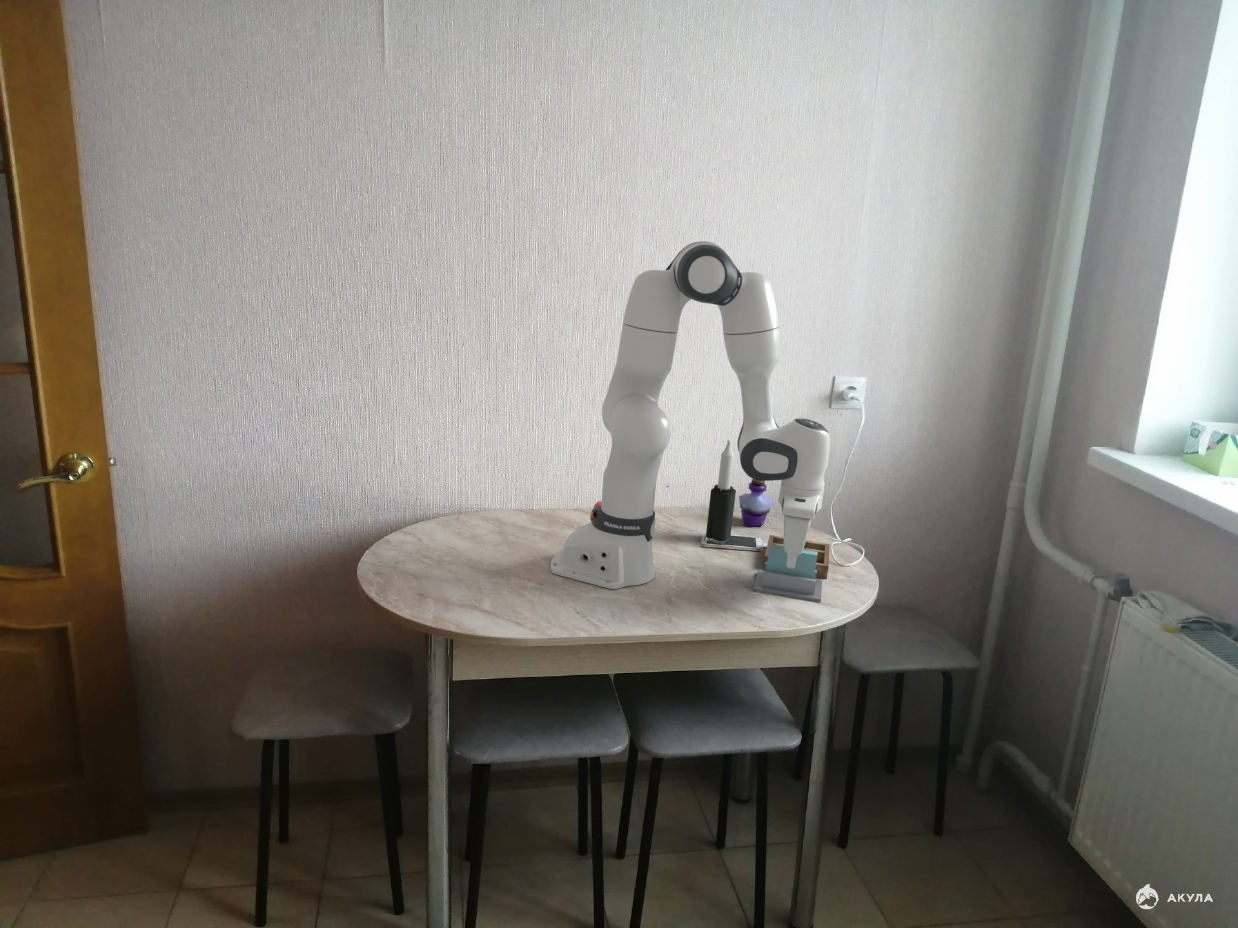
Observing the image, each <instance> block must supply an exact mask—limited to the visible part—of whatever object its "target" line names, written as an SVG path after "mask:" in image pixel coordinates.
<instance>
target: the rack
mask: <svg viewBox="0 0 1238 928" xmlns="http://www.w3.org/2000/svg"><path fill="white" fill-rule="evenodd" d="M830 544H831V543H830ZM830 544H829V543H824V542H817V541H811V540H806V542H805V545H804V549H803V550H808V551H815V552H818V553H817V561H816V568H815V570H816V571H817V574H816V578H818V579H824V580H825V579H828V573H829V565H830ZM770 545H777V546H783V547H784V536H781V535H780V536H779V535H772V534H769V537H768V541H767V546H766V550H765V554H764V560H763V568H762V569H763V570H764V569H765V562H767V561H768V554H769V547H770Z"/></svg>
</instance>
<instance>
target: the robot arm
mask: <svg viewBox="0 0 1238 928" xmlns="http://www.w3.org/2000/svg"><path fill="white" fill-rule="evenodd" d="M691 300H692V301H694V302H697V303H703V304H709V305H716V306H717V307H718V309H719V312H720V316H721V321H722V322H721V323H722V334H723V341H724V347H725V351H726V355H727V358H728V362H729V365H730V367H731V369H732V370H733V371H734V373H735V375H736V376H737V379H738V381H739V386H740V392H741V395H740V396H741V403H742V415H743V421H742V422H743V423H742V424H741V427H740V430H739V433H738V437H737V451H738V452H739V461H740V462H739V463H740V465H741V469H742V470H743V472H744V473H745V474H746V476H748V477H749V478H751V479H755V480H759V481H765V482H771V481H773V482H774V481H781V482H780V488H779V489H780V490H779V496H778V503H779V504H780V507H781V514H782V516H783V518H784V519H783V537H784V552H786V553H787V565H786V566H787V567H788V568H795V565H796V560H797V556H798V555H801V554H802V552H803V549H804V545H805V542H806V541H807V538H808V534H809V530H810V528H811V527H810V526H811V523H812V520H814V519H815V517H816V514H817V513H818V512H819V510H820V509H821V510H822V505H823V497H824V494H825V485H826V483H825V474H826V471H827V469H828V466H829V460H830V451H831V436H830V432H829V431H828V430H827V428H826V427H825V425H823V424H820V423H819V422H817V421H814V420H812V419H809V418H795V419H793V420H792V421H791V422H788V423H786V424H784V425H782V426H780V427H779V425H778V423H777V422H776V420H775V417H774V411H773V410H774V409H773V400H772V399H773V397H772V386H771V384H772V383H771V382H772V374H773V371H774V368H775V367H776V365H777V364H778V361H779V357H780V346H781V345H780V344H781V337H780V336H781V333H780V332H781V331H780V330H781V329H780V320H779V314H778V307H777V304H776V297H775V293H774V290H773V287H772V284H771V282H770V279H768V278H767V277H766V276H765V275H764V274H761V273H758V272H754V271H753V272H752V271H745V272H741V271H740V270H739V269H738V267H737V266H736V264H735V263H734V262H733V260H732V258H731V257H730V256H729V254H728V253H726V251H725V250H724V249H723V248H722V247H721V246H720V245H718V244H716V243H714V242H711V241H696V242H691V243H689V244H687V245H686V246H685V247H683V248H682V249H681V250H680V251H679V252H678V253H677V254H676V256H675V257H674V259H673V260H672V261H671V262H670V264H669V265H668V266H667V267H666V269H665V270H660V269H650V270H646V271H643V272H641V273H639V274H638V275H637V276H636V277H635V279H634V281H633V284H632V286H631V289H630V292H629V296H628V299H627V302H626V306H625V310H624V313H623V314H624V316H623V320H622V326H621V327H622V328H621V332H620V333H621V334H620V340H619V345H618V351H617V358H616V362H615V367H614V370H613V372H612V376H611V378H610V382H609V385H608V388H607V391H606V396H605V397H604V400H603V401H602V408H601V417H602V422H603V425H604V427H605V428H606V430H607V431H608V432H609V434H610V437H611V447H610V453H609V456H608V461H607V464H606V465H607V466H606V468H605V469H604V471H603V478H602V479H603V480H602V489H601V490H602V491H601V501H600V500H598V501H597V502H596V503H595V504H594V505H593V508H592V510H591V513H590V516H589V520H590V522H589V523H587V524H585V525H583V526H582V527H579V528H577V529H576V530H574V531H573V532H572V533H570V534H569V535H568V537H566V540H565V542H564V544H563V547H562V550H560V551H559V552H557V553H556V554H555V555H554V556H553V557H552V559H551V561H550V565H549V570H550V572H551V573H552V574H554V575H557V576H560V577H565V578H568V579H573V580H576V581H580V582H583V583H588V584H591V585H593V586H594V585H595V586H599V587H601V588H606V589H610V590H618V589H621V588H624V587H628V586H629V587H630V586H639V585H642V584H643V585H644V584H647V583H649V582H650V581H652V580H653V579H654V578H655V576H656V571H655V566H654V557H653V546H652V545H653V539H654V538H653V537H654V535H655V527H656V526H655V525H656V519H655V518H656V512H655V510H654V508H655V507H654V506H655V497H656V489H657V488H656V486H657V478H658V474H659V471H660V467H661V463H662V460H663V456H664V453H665V450H666V448H667V447H668V446H669V443H670V440H671V435H672V434H671V433H672V432H671V427H670V423H669V419H668V417H667V415H666V413H665V411H663V409H661V407H659V398H660V394H661V390H663V389H662V388H663V387H664V383H665V380H666V378H667V377H668V375H669V374H670V373H671V370H672V367H673V360H674V355H675V351H676V350H675V349H676V344H677V338H678V332H679V325H680V320H681V316H682V312H683V310H684V307H685V306H686V305H687V303H689V302H690V301H691Z"/></svg>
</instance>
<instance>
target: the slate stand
mask: <svg viewBox="0 0 1238 928" xmlns="http://www.w3.org/2000/svg"><path fill="white" fill-rule="evenodd" d="M766 569H767V562H765V569H763V570H760V569H758V570H757V573H756V577H755V580H754V585H753V587H752V588H753V589H752V591H753V592H759V593H764V594H769V595H776V596H782V597H787V598H792V599H799V600H803V601H804V600H805V601H809V602H810V601H811V602H816V603H821V601H822V590H823V580H821V579H820V580H818V579H817V577H816V574H817V571H816V570H815V574H814V579H810V578H804V577H798V576H792V575H786V574H779V573H773V572H767V571H766Z"/></svg>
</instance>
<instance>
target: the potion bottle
mask: <svg viewBox="0 0 1238 928" xmlns="http://www.w3.org/2000/svg"><path fill="white" fill-rule="evenodd" d="M765 482H766V481H759V480H755V479H753V478H751V482H749V483H748V490H750V493H743V494H741V495H739V496H738V499H739V501H738V502H739V509H741V511H740V512H741V520H742V521H741V523H742V522H743V523H744V525H747V526H750V527H761V526H762V525H763V526H764V524H765V521H766V519H767V516H768V514H769V513H770V511H771V508H772V505H773V503H774V501H773V499H772V498H771V497H770V496H766V495H763V494H764V492H766V491H767V484H766V483H765ZM744 525H743V526H744ZM747 526H746V527H747ZM750 527H749V528H750ZM761 528H762V527H761Z"/></svg>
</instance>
